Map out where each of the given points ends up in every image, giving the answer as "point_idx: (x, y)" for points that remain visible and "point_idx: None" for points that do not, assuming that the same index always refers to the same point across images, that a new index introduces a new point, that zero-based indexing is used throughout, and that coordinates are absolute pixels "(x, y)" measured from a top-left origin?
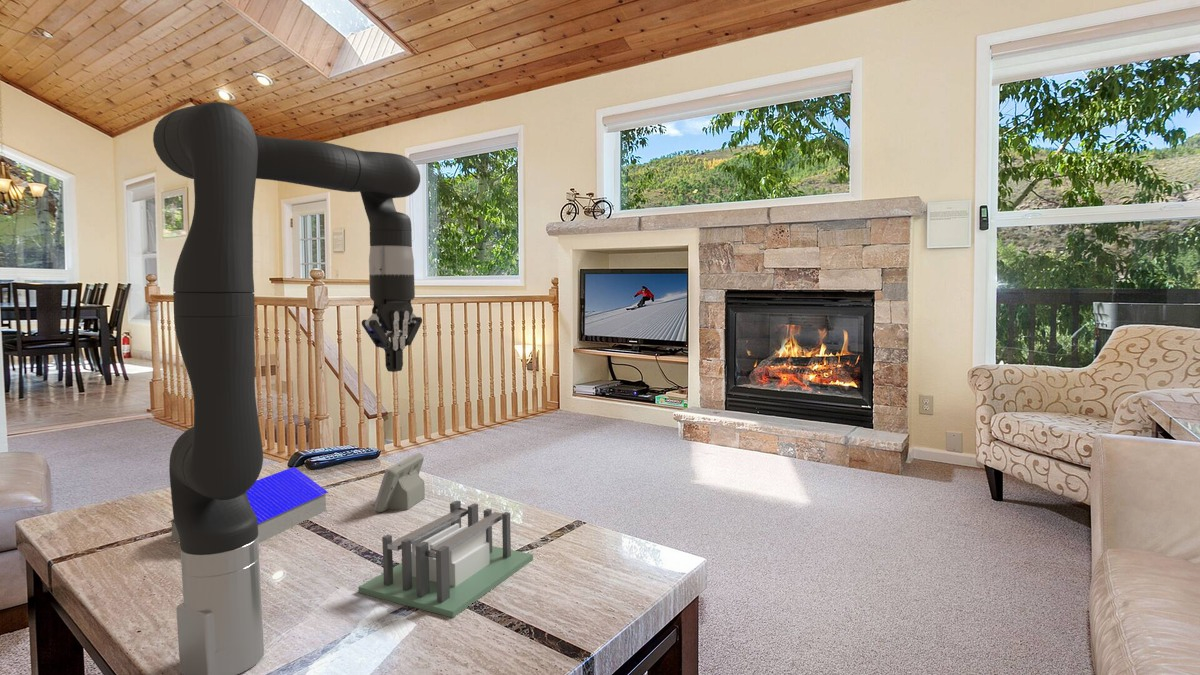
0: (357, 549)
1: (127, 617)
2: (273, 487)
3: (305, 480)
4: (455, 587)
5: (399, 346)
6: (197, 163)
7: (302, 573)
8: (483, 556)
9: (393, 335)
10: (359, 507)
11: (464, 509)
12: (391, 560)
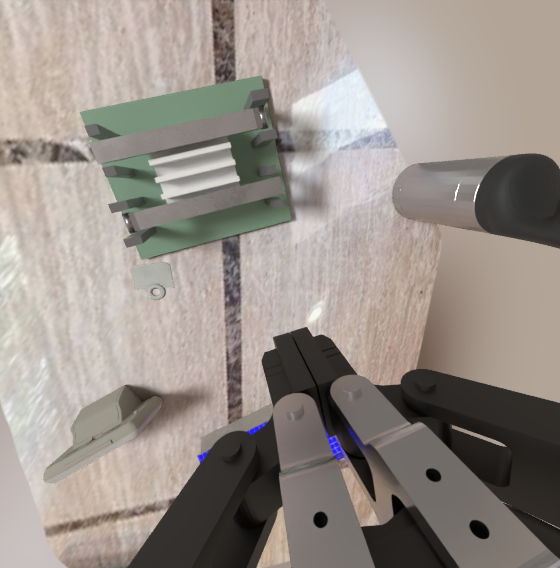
0: (234, 316)
1: (415, 320)
2: None
3: None
4: None
5: (316, 407)
6: None
7: (300, 301)
8: None
9: (426, 434)
10: (167, 426)
11: (129, 220)
12: (270, 198)
